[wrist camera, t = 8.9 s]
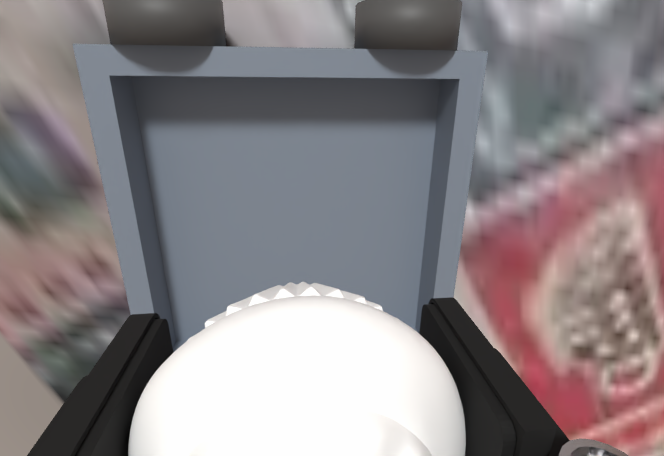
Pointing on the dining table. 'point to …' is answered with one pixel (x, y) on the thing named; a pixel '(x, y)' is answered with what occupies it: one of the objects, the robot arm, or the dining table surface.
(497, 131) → the dining table surface
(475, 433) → the robot arm
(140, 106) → the toy cart
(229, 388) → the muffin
